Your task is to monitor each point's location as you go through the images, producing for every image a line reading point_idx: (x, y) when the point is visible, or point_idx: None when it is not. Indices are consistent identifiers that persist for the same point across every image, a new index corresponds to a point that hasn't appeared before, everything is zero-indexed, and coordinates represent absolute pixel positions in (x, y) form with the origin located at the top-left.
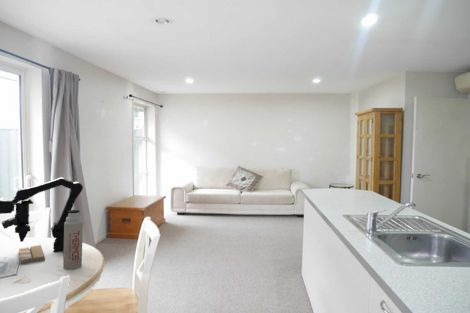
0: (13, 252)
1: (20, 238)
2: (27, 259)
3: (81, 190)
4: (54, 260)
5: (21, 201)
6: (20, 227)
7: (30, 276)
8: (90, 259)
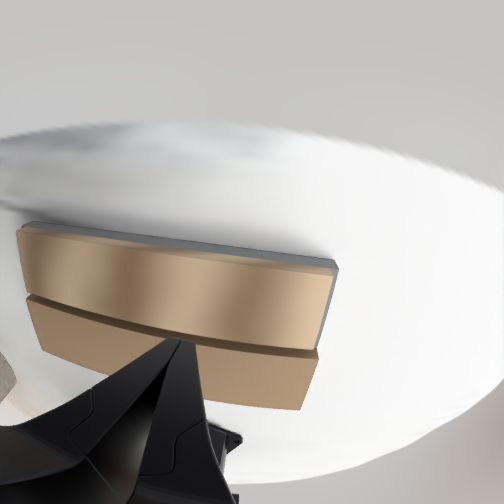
0: (363, 220)
1: (128, 372)
2: (26, 267)
3: None
4: (48, 360)
5: None
6: None
7: None
8: None
